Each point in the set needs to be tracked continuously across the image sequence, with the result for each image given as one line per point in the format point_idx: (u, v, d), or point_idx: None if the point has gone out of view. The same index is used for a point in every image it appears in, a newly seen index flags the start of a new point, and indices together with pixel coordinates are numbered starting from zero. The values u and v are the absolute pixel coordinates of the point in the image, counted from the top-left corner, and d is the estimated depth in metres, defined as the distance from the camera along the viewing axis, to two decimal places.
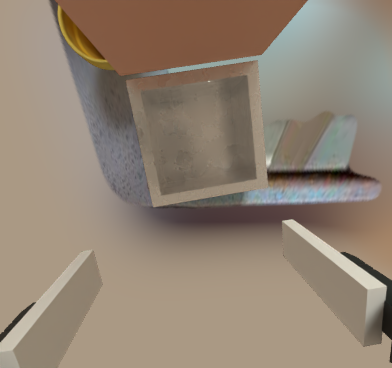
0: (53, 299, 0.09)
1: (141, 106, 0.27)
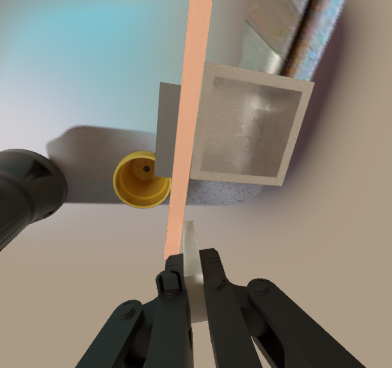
0: (195, 249, 0.12)
1: (210, 173, 0.35)
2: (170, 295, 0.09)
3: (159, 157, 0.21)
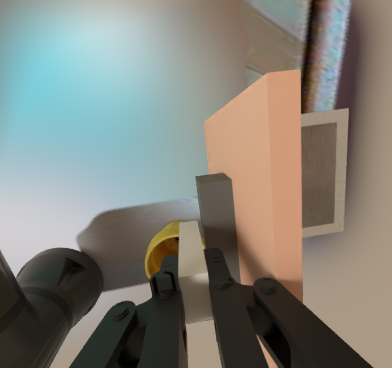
0: (191, 250, 0.12)
1: None
2: (164, 296, 0.09)
3: None
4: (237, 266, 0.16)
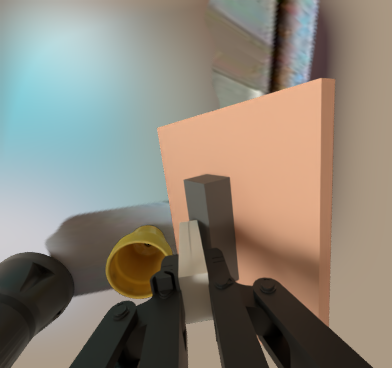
0: (191, 249, 0.12)
1: None
2: (164, 296, 0.09)
3: None
4: (236, 260, 0.17)
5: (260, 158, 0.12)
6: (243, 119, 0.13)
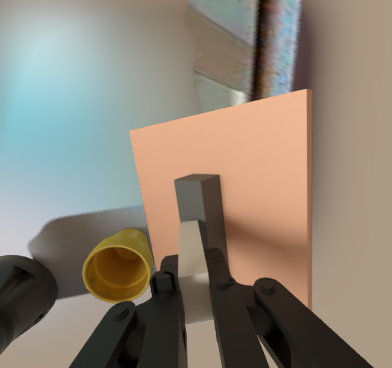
0: (190, 250, 0.12)
1: None
2: (164, 296, 0.09)
3: None
4: (226, 252, 0.18)
5: (251, 155, 0.14)
6: (234, 121, 0.14)
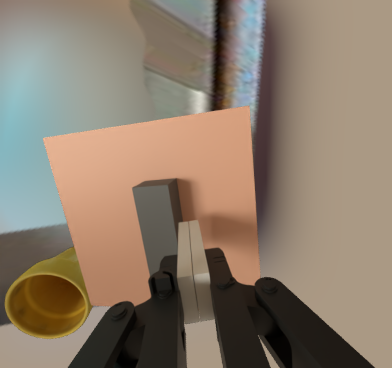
0: (190, 250, 0.12)
1: None
2: (163, 296, 0.09)
3: None
4: None
5: (208, 157, 0.17)
6: (190, 128, 0.16)
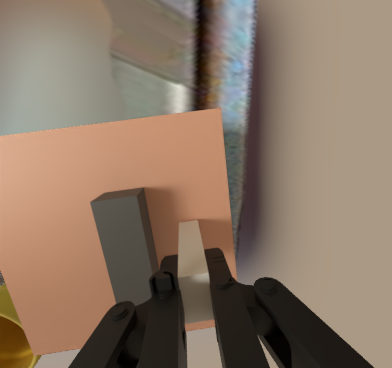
0: (190, 250, 0.12)
1: None
2: (163, 296, 0.09)
3: None
4: (159, 269, 0.17)
5: (179, 163, 0.15)
6: (158, 131, 0.15)
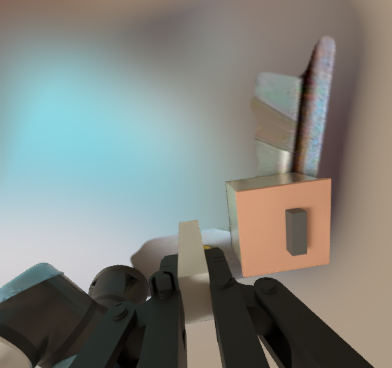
0: (190, 250, 0.12)
1: None
2: (163, 296, 0.09)
3: None
4: None
5: (313, 198, 0.40)
6: (308, 187, 0.39)
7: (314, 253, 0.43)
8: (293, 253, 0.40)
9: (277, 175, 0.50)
